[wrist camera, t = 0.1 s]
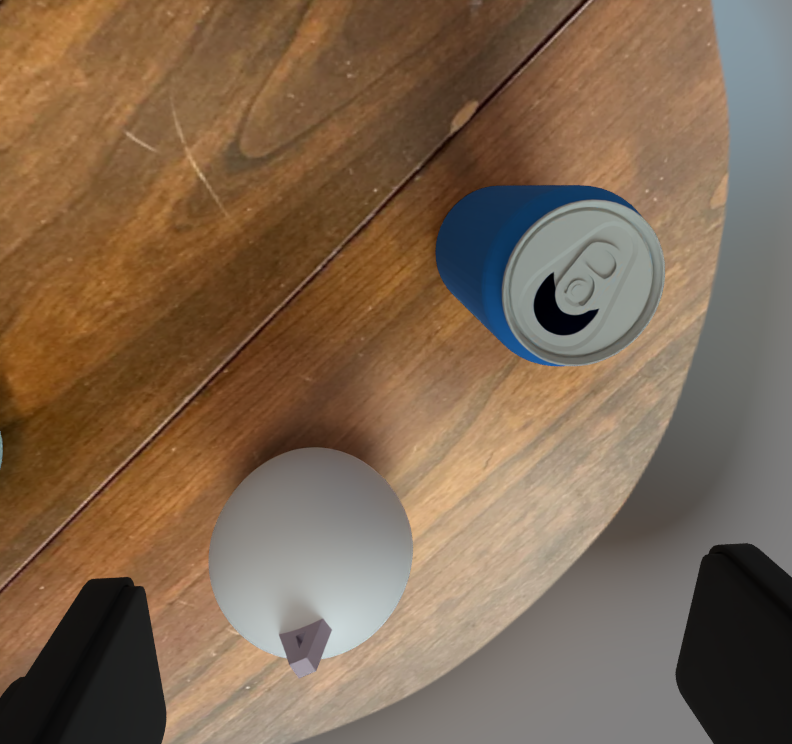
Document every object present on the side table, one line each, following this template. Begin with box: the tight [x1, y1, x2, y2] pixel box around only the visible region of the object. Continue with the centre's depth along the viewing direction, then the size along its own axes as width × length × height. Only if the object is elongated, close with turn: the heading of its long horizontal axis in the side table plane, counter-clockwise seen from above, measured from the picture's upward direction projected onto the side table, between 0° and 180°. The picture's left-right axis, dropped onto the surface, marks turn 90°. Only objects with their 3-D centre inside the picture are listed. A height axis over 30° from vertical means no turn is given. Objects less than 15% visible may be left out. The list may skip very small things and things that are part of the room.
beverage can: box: [436, 185, 665, 366], centre depth 24 cm, size 6×6×12 cm
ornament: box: [209, 447, 413, 678], centre depth 28 cm, size 10×10×12 cm
